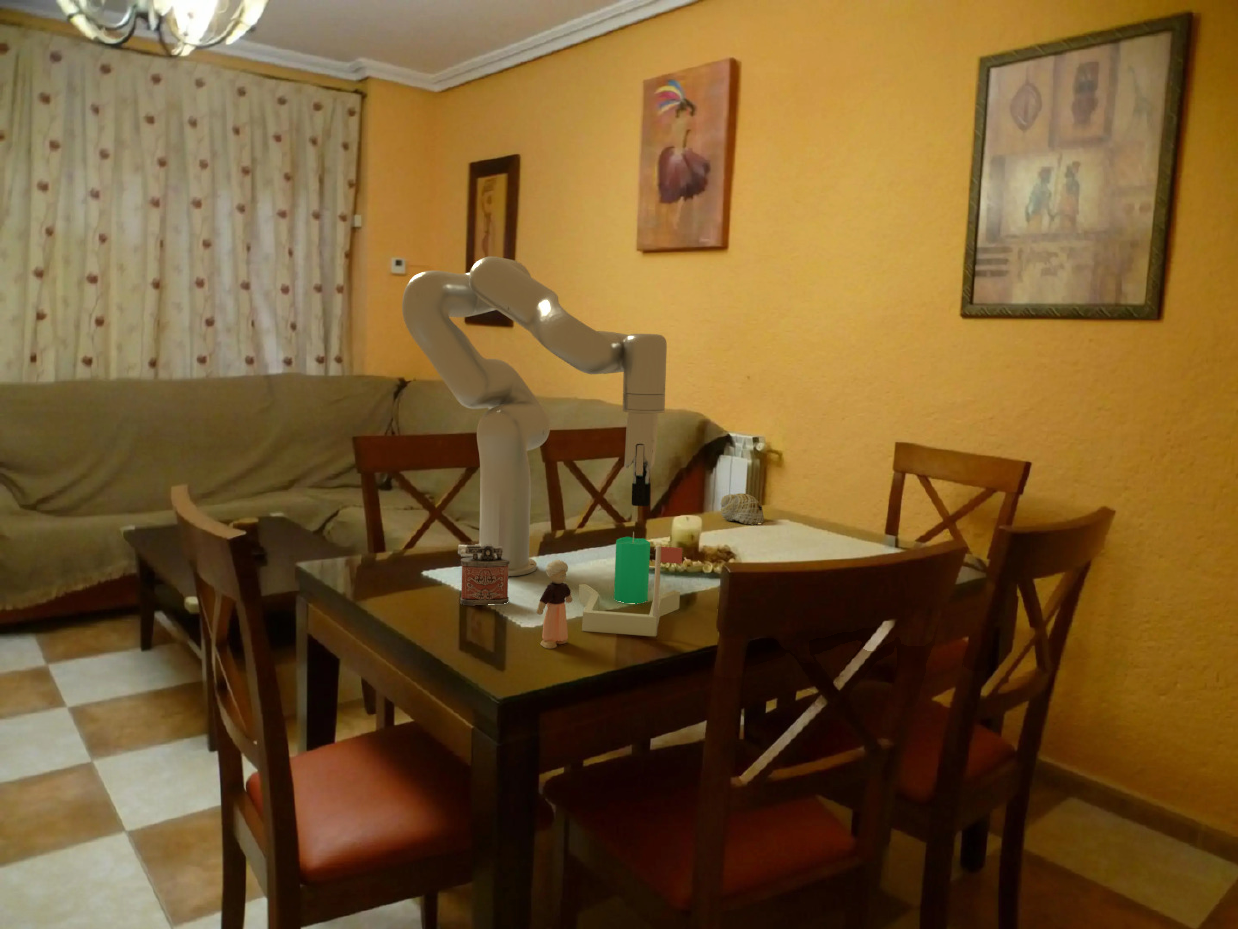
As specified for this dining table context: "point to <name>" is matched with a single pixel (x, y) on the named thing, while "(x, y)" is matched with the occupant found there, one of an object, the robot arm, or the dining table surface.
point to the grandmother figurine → (555, 605)
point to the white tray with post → (630, 621)
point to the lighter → (484, 576)
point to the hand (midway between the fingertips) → (640, 505)
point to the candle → (631, 570)
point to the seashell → (742, 508)
